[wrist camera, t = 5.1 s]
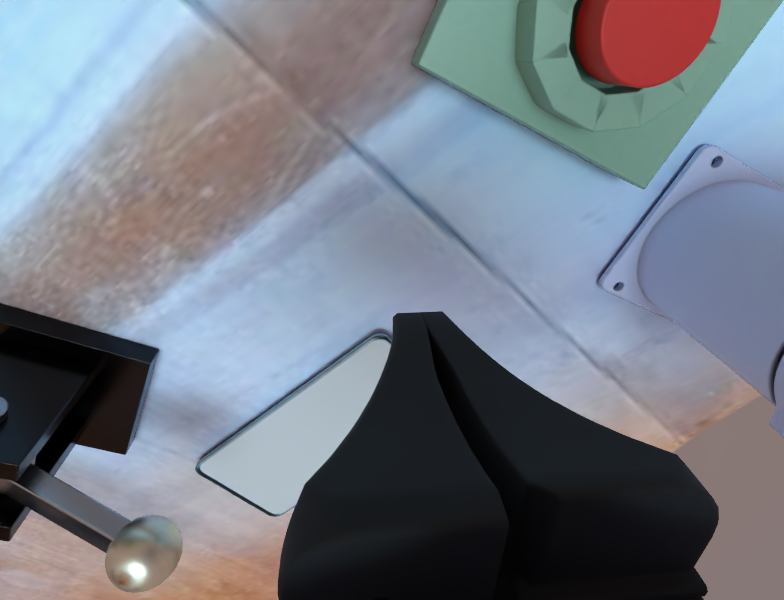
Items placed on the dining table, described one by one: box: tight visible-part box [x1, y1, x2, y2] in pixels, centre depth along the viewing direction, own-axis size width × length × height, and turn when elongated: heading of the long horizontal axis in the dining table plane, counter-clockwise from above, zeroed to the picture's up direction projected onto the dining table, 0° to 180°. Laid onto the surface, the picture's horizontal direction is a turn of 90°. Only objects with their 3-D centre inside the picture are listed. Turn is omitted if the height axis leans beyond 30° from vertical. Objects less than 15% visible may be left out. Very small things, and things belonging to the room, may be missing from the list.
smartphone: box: [195, 333, 392, 517], centre depth 27 cm, size 7×1×15 cm
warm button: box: [575, 0, 721, 88], centre depth 14 cm, size 4×4×2 cm
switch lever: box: [0, 457, 183, 593], centre depth 18 cm, size 11×3×3 cm, turn 64°
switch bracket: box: [0, 304, 159, 541], centre depth 20 cm, size 9×7×7 cm
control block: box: [411, 0, 783, 189], centre depth 16 cm, size 11×8×4 cm
